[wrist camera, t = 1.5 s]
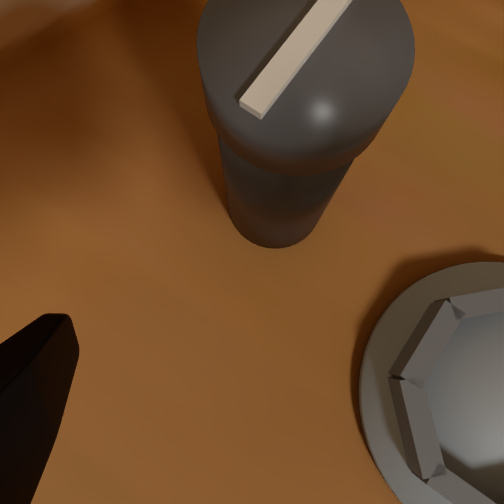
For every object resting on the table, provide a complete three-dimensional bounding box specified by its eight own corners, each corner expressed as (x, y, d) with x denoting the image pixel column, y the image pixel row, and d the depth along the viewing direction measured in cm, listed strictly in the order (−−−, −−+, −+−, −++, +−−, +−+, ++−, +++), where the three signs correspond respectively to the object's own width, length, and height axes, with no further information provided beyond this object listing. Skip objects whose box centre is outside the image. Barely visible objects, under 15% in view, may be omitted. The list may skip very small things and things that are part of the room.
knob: (288, 272, 21) (341, 181, 9) (204, 214, 22) (149, 57, 10) (343, 191, 22) (459, 11, 10) (262, 138, 23) (277, -93, 11)
